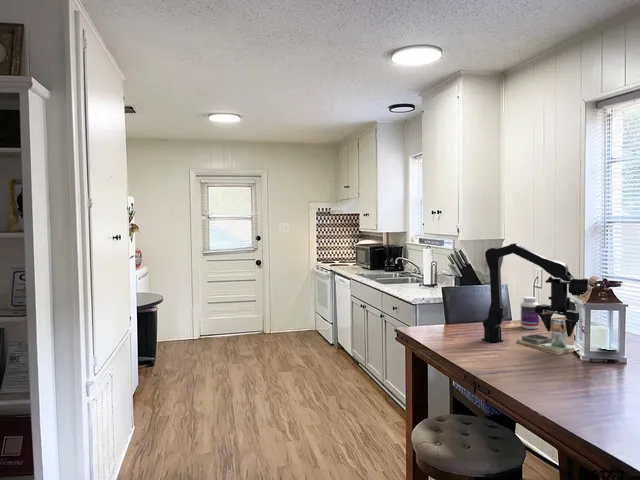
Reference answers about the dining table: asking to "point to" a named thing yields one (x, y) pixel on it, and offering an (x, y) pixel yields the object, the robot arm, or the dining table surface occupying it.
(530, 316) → the pill bottle
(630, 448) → the dining table surface
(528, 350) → the dining table surface
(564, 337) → the steel tin
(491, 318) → the robot arm
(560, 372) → the dining table surface
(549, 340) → the pocket board
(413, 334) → the dining table surface
